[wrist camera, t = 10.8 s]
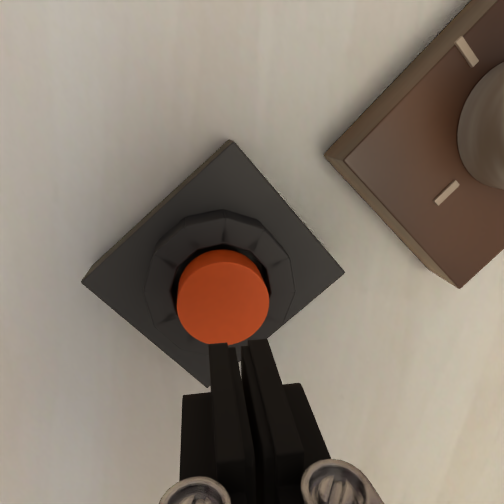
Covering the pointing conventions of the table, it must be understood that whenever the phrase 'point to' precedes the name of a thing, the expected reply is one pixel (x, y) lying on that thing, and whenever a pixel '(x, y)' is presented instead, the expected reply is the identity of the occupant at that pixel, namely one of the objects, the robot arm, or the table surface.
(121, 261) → the button box
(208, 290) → the button
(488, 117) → the pointer wheel
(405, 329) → the table surface
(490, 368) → the table surface
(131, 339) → the table surface
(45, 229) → the table surface
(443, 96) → the dial panel
